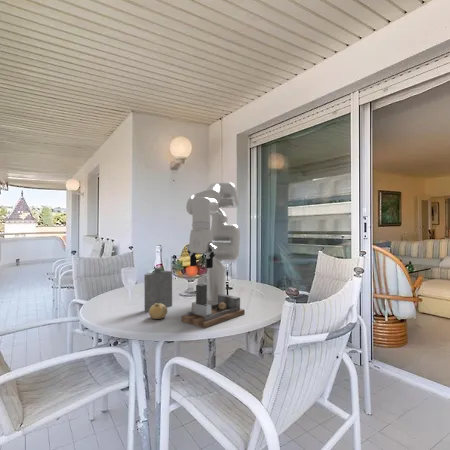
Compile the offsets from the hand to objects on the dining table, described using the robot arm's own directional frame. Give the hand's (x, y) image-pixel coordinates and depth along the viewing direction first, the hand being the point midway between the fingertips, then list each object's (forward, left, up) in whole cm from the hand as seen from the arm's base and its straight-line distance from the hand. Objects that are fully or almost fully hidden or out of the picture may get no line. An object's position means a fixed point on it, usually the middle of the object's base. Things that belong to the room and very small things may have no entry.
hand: (201, 266), depth 136 cm
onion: (-18, -9, -24) cm, 31 cm away
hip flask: (-31, +1, -24) cm, 39 cm away
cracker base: (0, +8, -23) cm, 25 cm away
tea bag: (-42, +43, -24) cm, 65 cm away
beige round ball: (0, +14, -20) cm, 24 cm away
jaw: (0, 0, -20) cm, 20 cm away
